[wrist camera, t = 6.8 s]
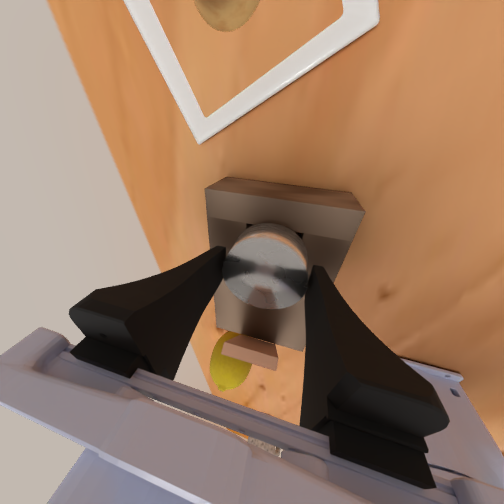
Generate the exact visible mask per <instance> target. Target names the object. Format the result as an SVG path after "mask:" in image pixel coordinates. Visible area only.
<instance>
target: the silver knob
mask: <svg viewBox="0 0 504 504" xmlns="http://www.w3.org/2000/svg"><path fill="white" fill-rule="evenodd" d="M222 274H223V278H224V281H225V283H226V285H227V287H228V288H229V290H230V291H231V292H232V293H233V294H234V295H235V296H236V297H237V298H239V299H240V300H242V301H243V302H245V303H247V304H249V305H252V306H255V307H258V308H263V309H282V308H286V307H289V306H292V305H294V304H295V303H297V302H298V301H299V300H301V298H302V297H303V296H304V295H305V293H306V291H307V288H308V258H307V250H306V247H305V245H304V243H303V241H302V240H301V238H300V237H299V236H298V235H297V234H296V233H295V232H293V231H292V230H290V229H289V228H286V227H284V226H282V225H278V224H273V223H262V224H257V225H253V226H251V227H249V228H247V229H246V230H245V231H243V232H242V233H241V235H240V236H239V237H238V239H237V241H236V242H235V244H234V245H233V247H232V249H231V250H230V252H229V253H228V255H227V257H226V258H225V260H224V263H223V267H222Z"/></svg>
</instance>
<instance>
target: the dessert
mask: <svg viewBox="0 0 504 504" xmlns="http://www.w3.org/2000/svg"><path fill="white" fill-rule="evenodd" d="M123 1H124V3H125V5H126V7H127V9H128V11H129V12H130V14H131V16H132V18H133V20H134V22H135V24H136V26H137V28H138V30H139V32H140V34H141V36H142V37H143V39H144V41H145V43H146V45H147V47H148V49H149V51H150V53H151V55H152V57H153V59H154V61H155V62H156V64H157V66H158V68H159V70H160V72H161V74H162V76H163V78H164V80H165V82H166V84H167V86H168V87H169V89H170V91H171V93H172V95H173V97H174V99H175V101H176V103H177V105H178V107H179V109H180V111H181V112H182V114H183V116H184V118H185V120H186V122H187V124H188V126H189V128H190V130H191V132H192V134H193V136H194V137H195V139H196V141H197V143H198V144H201V143H203V142H204V141H206V140H207V139H209V138H210V137H212V136H213V135H215V134H216V133H218V132H219V131H221V130H222V129H224V128H225V127H227V126H228V125H230V124H231V123H233V122H234V121H235V120H237V119H238V118H240V117H241V116H243V115H244V114H246V113H247V112H249V111H250V110H252V109H253V108H255V107H256V106H258V105H259V104H261V103H262V102H264V101H265V100H267V99H268V98H270V97H271V96H273V95H274V94H275V93H277V92H278V91H280V90H281V89H283V88H284V87H286V86H287V85H289V84H290V83H292V82H293V81H295V80H296V79H298V78H299V77H301V76H302V75H304V74H305V73H307V72H308V71H310V70H311V69H313V68H314V67H316V66H317V65H318V64H320V63H321V62H323V61H324V60H326V59H327V58H329V57H330V56H332V55H333V54H335V53H336V52H338V51H339V50H341V49H342V48H344V47H345V46H347V45H348V44H350V43H351V42H353V41H354V40H356V39H357V38H358V37H360V36H361V35H363V34H364V33H366V32H367V31H369V30H370V29H372V28H373V27H375V26H376V25H377V24H378V23H379V20H380V14H379V4H378V0H342V2H343V9H344V10H343V15H342V16H341V17H340V18H339V19H338V20H337V21H335V22H334V23H333V24H331V25H330V26H329V27H327V28H326V29H325V30H323V31H322V32H321V33H319V34H318V35H317V36H315V37H314V38H313V39H311V40H310V41H309V42H307V43H306V44H305V45H303V46H302V47H301V48H299V49H298V50H297V51H295V52H294V53H293V54H291V55H290V56H289V57H287V58H286V59H285V60H283V61H282V62H281V63H279V64H278V65H276V66H275V67H274V68H272V69H271V70H270V71H268V72H267V73H266V74H264V75H263V76H262V77H260V78H259V79H258V80H256V81H255V82H254V83H252V84H251V85H250V86H248V87H247V88H246V89H244V90H243V91H242V92H240V93H239V94H238V95H236V96H235V97H234V98H232V99H231V100H230V101H228V102H227V103H226V104H224V105H223V106H222V107H220V108H219V109H218V110H216V111H215V112H214V113H212V114H211V115H210V116H208V117H205V116H204V115H203V113H202V111H201V109H200V107H199V104H198V102H197V100H196V98H195V96H194V94H193V92H192V90H191V88H190V85H189V83H188V81H187V79H186V77H185V75H184V73H183V71H182V69H181V66H180V64H179V62H178V60H177V58H176V56H175V54H174V52H173V50H172V47H171V45H170V43H169V41H168V39H167V37H166V35H165V33H164V31H163V29H162V26H161V24H160V22H159V20H158V18H157V16H156V14H155V12H154V10H153V7H152V5H151V3H150V1H149V0H123ZM193 1H194V3H195V6H196V8H197V10H198V12H199V13H200V15H201V16H202V18H203V19H204V20H205V21H206V23H207V24H209V25H210V26H211V27H212V28H214V29H216V30H218V31H222V32H230V31H234V30H236V29H238V28H240V27H241V26H243V25H244V24H245V23H246V22H247V21H248V20H249V19H250V17H251V16H252V14H253V13H254V11H255V10H256V8H257V6H258V4H259V1H260V0H193Z"/></svg>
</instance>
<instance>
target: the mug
mask: <svg viewBox="0 0 504 504" xmlns="http://www.w3.org/2000/svg"><path fill="white" fill-rule="evenodd" d="M262 413H263V412H262ZM264 414H266V413H264ZM267 415H269V414H267ZM270 416H271V415H270ZM248 442H249V443H251V444H253V445H255V446H257V447H259V448H261V449H263V450H265V451H267V452H269V453H271V454H274V455H276V456H279V454H280V448H278V447H276V450H275V446H273V445H271V444H268V443H265V442H263V441H260V440H258V439H255V438H252V437H250V436H249V437H248Z"/></svg>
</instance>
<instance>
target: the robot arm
mask: <svg viewBox="0 0 504 504" xmlns="http://www.w3.org/2000/svg"><path fill="white" fill-rule="evenodd" d="M225 258H226V247H223V246H218V245H217V246H215V247H214V248H212V249H210V250H208V251H207V252H205V253H203V254H201V255H199V256H198V257H196V258H194V259H192V260H190V261H188V262H186V263H184V264H182V265H180V266H178V267H176V268H173V269H171V270H168V271H166V272H163V273H160V274H158V275H154V276H151V277H148V278H145V279H142V280H138V281H135V282H130V283H127V284H122V285H118V286H112V287H107V288H102V289H96V290H95V291H93V292H92V293H90V294H89V295H88V296H86V297H85V298H84V299H82V300H81V301H80V302H78V303H77V304H76V305H74V306H73V307H72V308H70V310H69V315H70V318H71V319H72V321H73V322H74V323H75V324H76V325H77V327H78V328H79V329H80V330H81V331H82V332H83V334H84V335H85V336H86V337H85V338H84V339H83V340H82V341H81V342H80V343H79V344H77V345H76V346H75V345H72V344H70V342H69V341H68V340H67V339H66V338H65V337H64V336H63V335H61V334H59V333H57V332H54V331H51V330H48V329H46V328H43V327H40V328H38V329H36V330H35V331H34V332H32V333H31V334H29V335H28V336H27V337H25V338H24V339H23V340H21V341H20V342H19V343H17V344H16V345H14V346H13V347H12V348H10V349H9V350H7V351H6V352H5V353H3V354H2V355H0V405H1V406H3V407H5V408H7V409H9V410H11V411H13V412H15V413H17V414H19V415H21V416H23V417H25V418H27V419H29V420H31V421H34V422H36V423H37V424H40V425H42V426H43V427H45V428H47V429H50V430H52V431H54V432H56V433H58V434H60V435H62V436H64V437H66V438H68V439H70V440H72V441H74V442H76V443H78V444H80V445H82V446H84V447H86V449H85V450H84V451H83V453H82V454H81V456H80V457H79V459H78V460H77V462H76V463H75V464H74V466H73V467H72V468H71V470H70V472H69V473H68V474H67V476H66V477H65V478H64V480H63V481H62V483H61V484H60V486H59V487H58V489H57V490H56V491H55V493H54V494H53V495H52V497H51V498H50V500H49V501H48V503H47V504H504V457H503V455H502V453H501V451H500V449H499V448H498V446H497V444H496V443H495V441H494V439H493V438H492V436H491V434H490V433H489V431H488V429H487V428H486V426H485V425H484V423H483V421H482V420H481V418H480V416H479V415H478V413H477V411H476V410H475V408H474V406H473V405H472V403H471V402H470V400H469V398H468V397H467V395H466V393H465V392H464V390H463V388H462V387H461V385H460V383H459V382H460V381H462V380H463V377H462V375H461V374H458V373H454V372H451V371H447V370H443V369H439V368H436V367H432V366H428V365H425V364H421V363H417V362H413V361H410V360H406V359H402V358H399V357H398V356H397V355H396V354H395V353H394V352H392V351H391V350H390V349H389V348H388V347H387V346H386V345H385V344H384V343H383V342H382V341H380V340H379V339H378V338H377V337H376V336H375V335H374V334H373V333H372V332H371V331H370V330H369V329H368V327H367V326H366V325H365V324H364V323H363V322H362V321H361V320H360V319H359V318H358V316H357V315H356V314H355V313H354V312H353V311H352V309H351V308H350V307H349V305H348V304H347V303H346V301H345V300H344V299H343V297H342V296H341V294H340V293H339V291H338V290H337V288H336V287H335V285H334V284H333V282H332V280H331V279H330V277H329V275H328V273H327V272H326V270H325V268H324V267H323V266H318V265H313V267H312V270H311V273H310V276H309V279H308V288H307V291H306V293H305V300H304V307H305V328H306V351H305V368H304V382H303V394H302V406H301V416H300V426H298V425H295V424H292V423H289V422H287V421H284V420H281V419H278V418H275V417H273V416H270V415H267V414H264V413H262V412H259V411H256V410H253V409H250V408H248V407H245V406H242V405H239V404H236V403H234V402H231V401H228V400H225V399H223V398H220V397H217V396H214V395H211V394H208V393H206V392H203V391H200V390H198V389H195V388H192V387H189V386H186V385H183V384H181V383H178V382H175V381H173V380H174V378H175V375H176V373H177V370H178V368H179V365H180V362H181V360H182V357H183V355H184V353H185V350H186V348H187V346H188V343H189V341H190V339H191V337H192V334H193V332H194V330H195V328H196V326H197V324H198V322H199V320H200V317H201V315H202V313H203V312H204V310H205V308H206V306H207V305H208V303H209V302H210V300H211V298H212V297H213V295H214V294H215V292H216V290H217V289H218V287H219V285H220V284H221V282H222V280H223V274H222V267H223V263H224V260H225ZM148 397H149V398H148ZM150 398H152V399H155V400H157V401H160V402H163V403H165V404H167V405H170V406H173V407H175V408H178V409H180V410H183V411H185V412H188V413H191V414H193V415H196V416H198V417H201V418H204V419H206V420H209V421H212V422H214V423H217V424H219V425H222V426H224V427H227V428H229V429H232V430H234V431H237V432H240V433H242V434H245V435H247V436H250V437H252V438H255V439H258V440H260V441H263V442H265V443H268V444H271V445H273V446H276V447H278V448H281V449H283V451H282V452H281V458H280V457H278V456H276V455H274V454H271V453H269V452H267V451H265V450H263V449H261V448H259V447H257V446H255V445H253V444H251V443H249V442H247V441H245V440H243V439H242V438H241V437H239V436H237V435H236V434H234V433H232V432H229V431H227V430H225V429H223V428H221V427H218V426H215V425H213V424H210V423H207V422H205V421H203V420H200V419H198V418H195V417H192V416H190V415H187V414H185V413H182V412H180V411H177V410H174V409H171V408H169V407H166V406H164V405H162V404H159V403H156V402H154V400H152V399H150Z"/></svg>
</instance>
